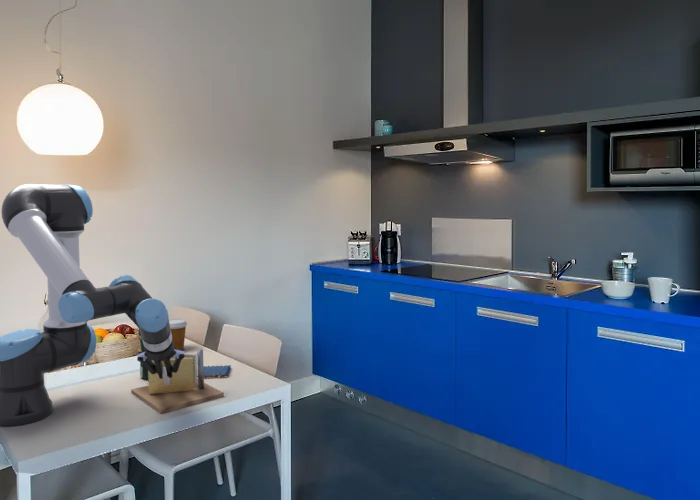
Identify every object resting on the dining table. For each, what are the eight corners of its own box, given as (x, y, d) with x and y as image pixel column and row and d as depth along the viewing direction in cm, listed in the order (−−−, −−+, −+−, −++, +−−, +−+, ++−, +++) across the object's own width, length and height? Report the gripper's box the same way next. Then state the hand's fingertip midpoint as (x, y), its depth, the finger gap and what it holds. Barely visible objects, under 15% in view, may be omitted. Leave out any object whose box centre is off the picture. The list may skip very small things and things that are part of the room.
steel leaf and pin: (207, 390, 177) (206, 348, 176) (202, 393, 174) (201, 351, 173) (161, 386, 181) (160, 345, 179) (156, 389, 178) (154, 348, 176)
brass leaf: (193, 388, 174) (192, 357, 173) (193, 390, 173) (192, 358, 172) (149, 392, 171) (148, 360, 170) (149, 393, 169) (147, 361, 168)
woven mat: (201, 370, 198) (201, 365, 198) (231, 370, 199) (231, 364, 199) (196, 380, 188) (196, 374, 188) (228, 379, 189) (228, 373, 189)
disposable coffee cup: (183, 354, 217) (182, 324, 216) (159, 354, 217) (158, 324, 216) (190, 347, 226) (189, 318, 225) (167, 347, 226) (166, 318, 225)
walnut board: (160, 413, 158) (160, 409, 158) (131, 393, 174) (131, 389, 174) (223, 396, 171) (223, 392, 171) (191, 379, 188) (190, 375, 188)
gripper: (131, 354, 148) (143, 394, 166) (182, 351, 150) (189, 390, 168) (133, 330, 152) (145, 371, 170) (183, 327, 155) (189, 368, 173)
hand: (167, 381), depth 169 cm, fingers closed
